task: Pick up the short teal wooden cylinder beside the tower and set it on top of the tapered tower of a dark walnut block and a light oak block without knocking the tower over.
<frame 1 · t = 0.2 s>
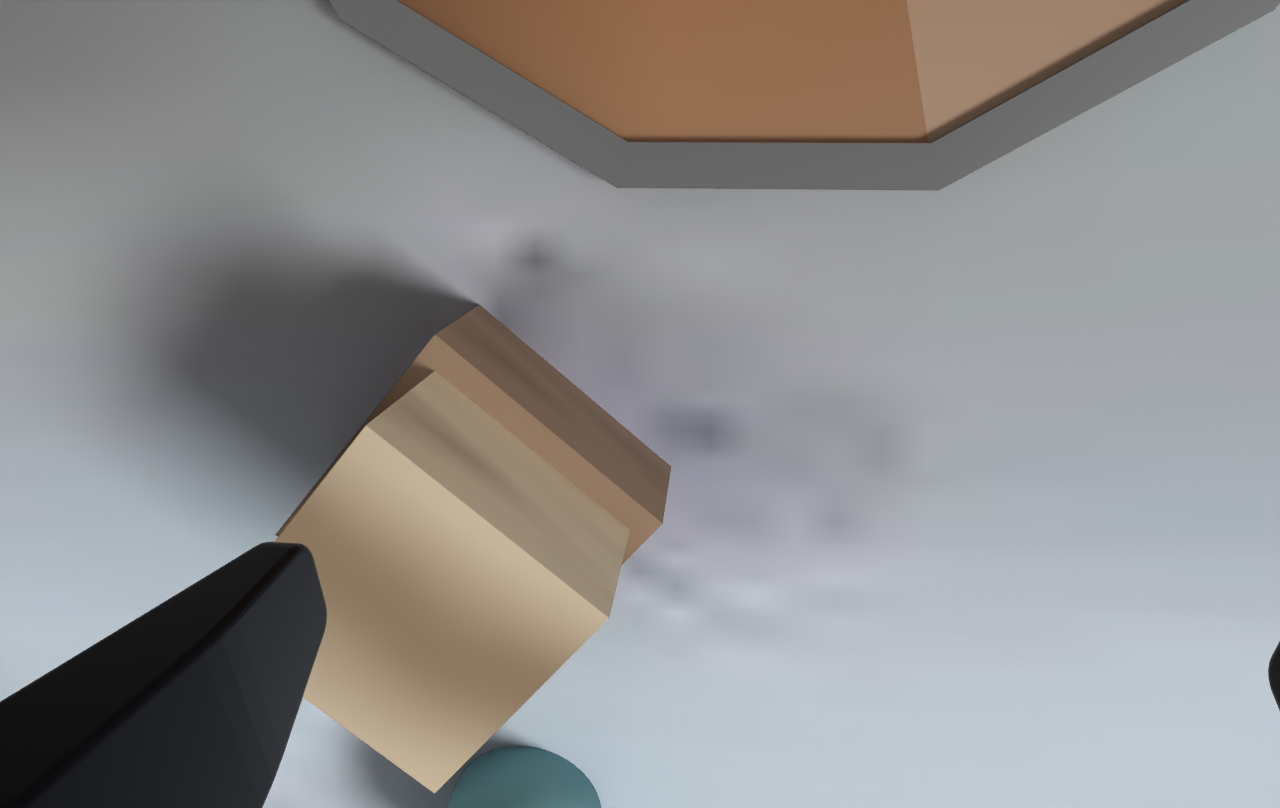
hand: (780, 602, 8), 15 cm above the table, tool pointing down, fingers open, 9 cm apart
teal cylinder: (527, 807, 28), on the table
walnut base block: (503, 469, 25), on the table, touching oak top block
oak top block: (460, 535, 21), point 4 cm above the table, touching walnut base block
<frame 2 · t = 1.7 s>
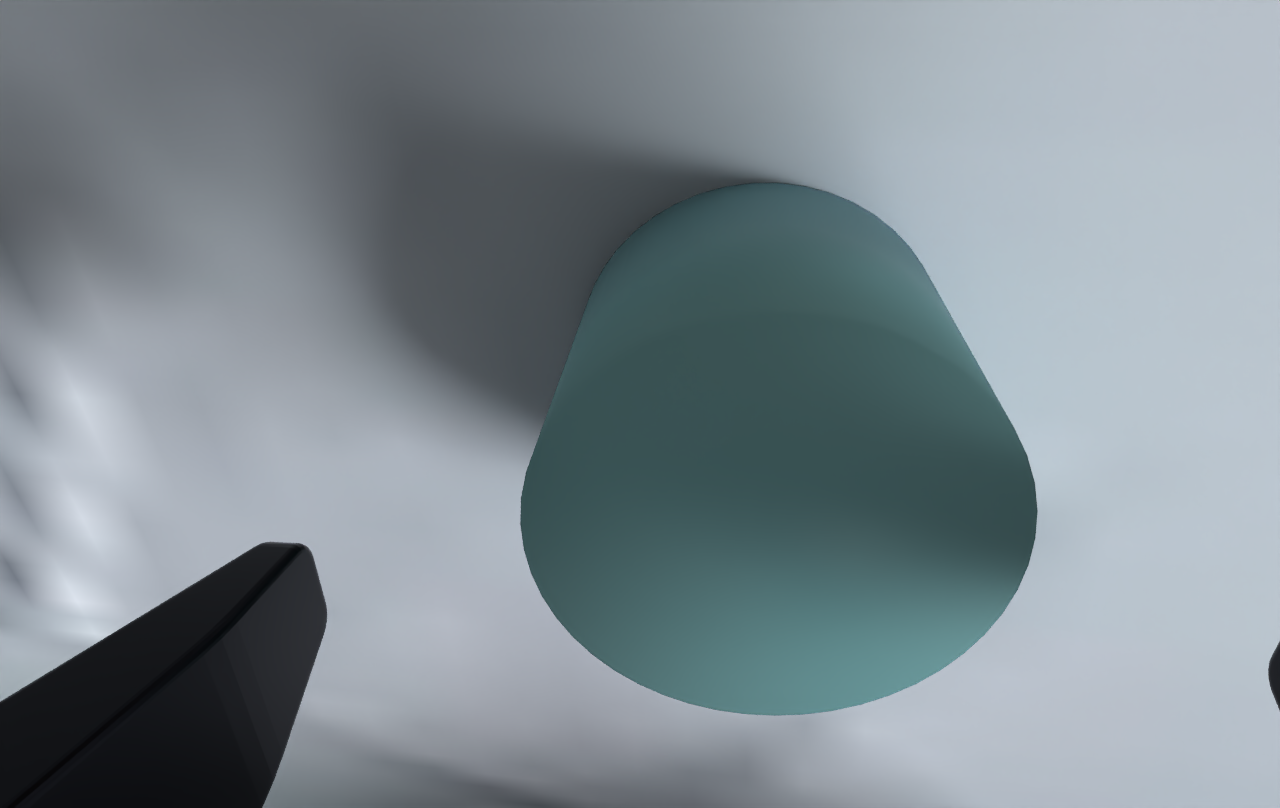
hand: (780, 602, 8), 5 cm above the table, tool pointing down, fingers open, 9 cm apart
teal cylinder: (757, 359, 12), on the table
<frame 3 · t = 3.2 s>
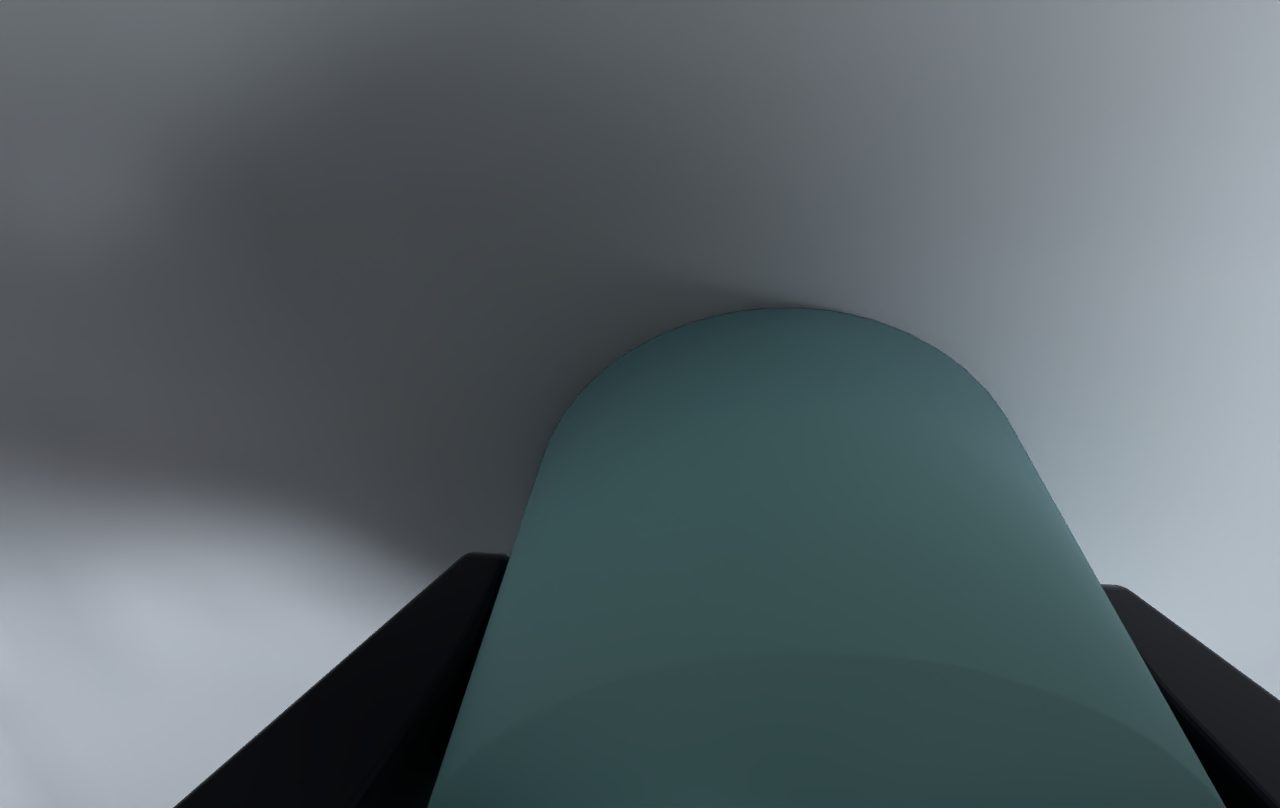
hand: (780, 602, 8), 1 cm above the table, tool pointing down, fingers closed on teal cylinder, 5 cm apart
teal cylinder: (774, 530, 9), on the table, touching gripper
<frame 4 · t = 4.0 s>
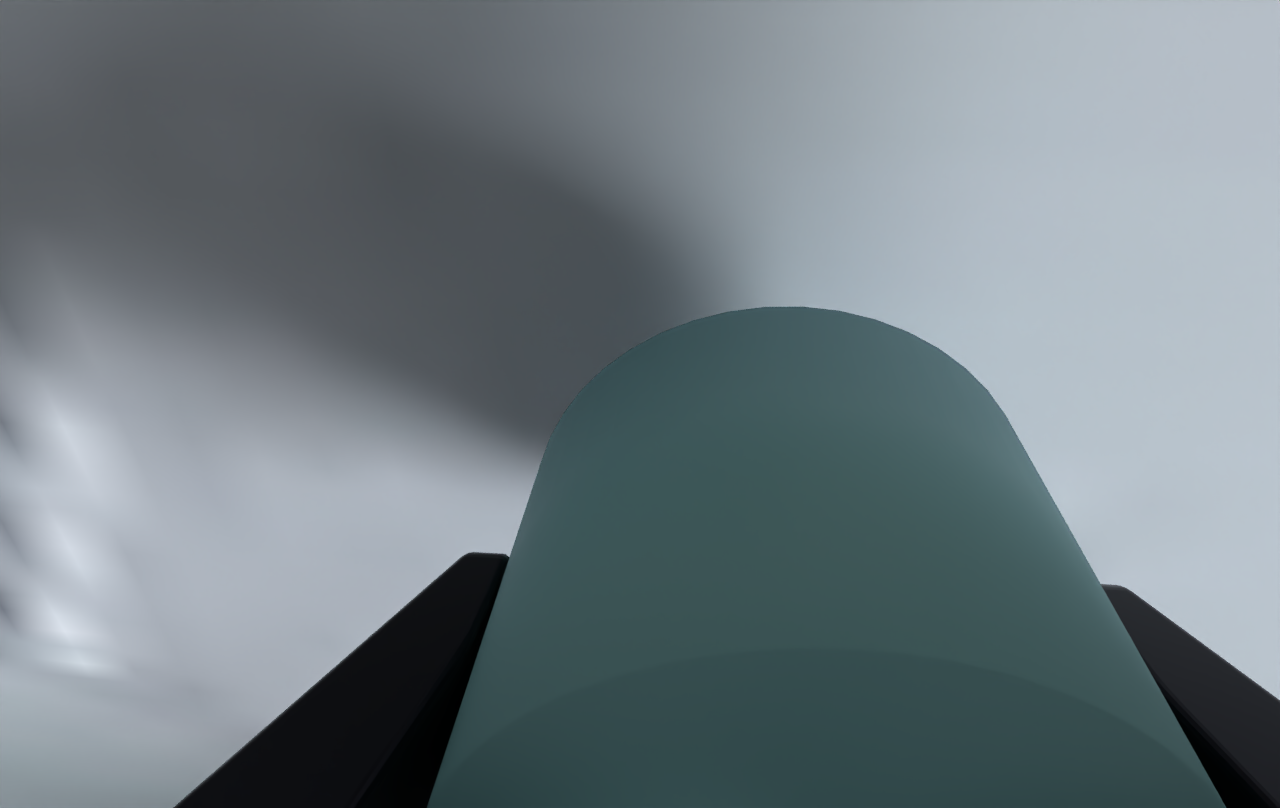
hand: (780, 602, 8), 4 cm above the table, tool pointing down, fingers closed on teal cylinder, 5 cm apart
teal cylinder: (773, 528, 9), point 3 cm above the table, touching gripper
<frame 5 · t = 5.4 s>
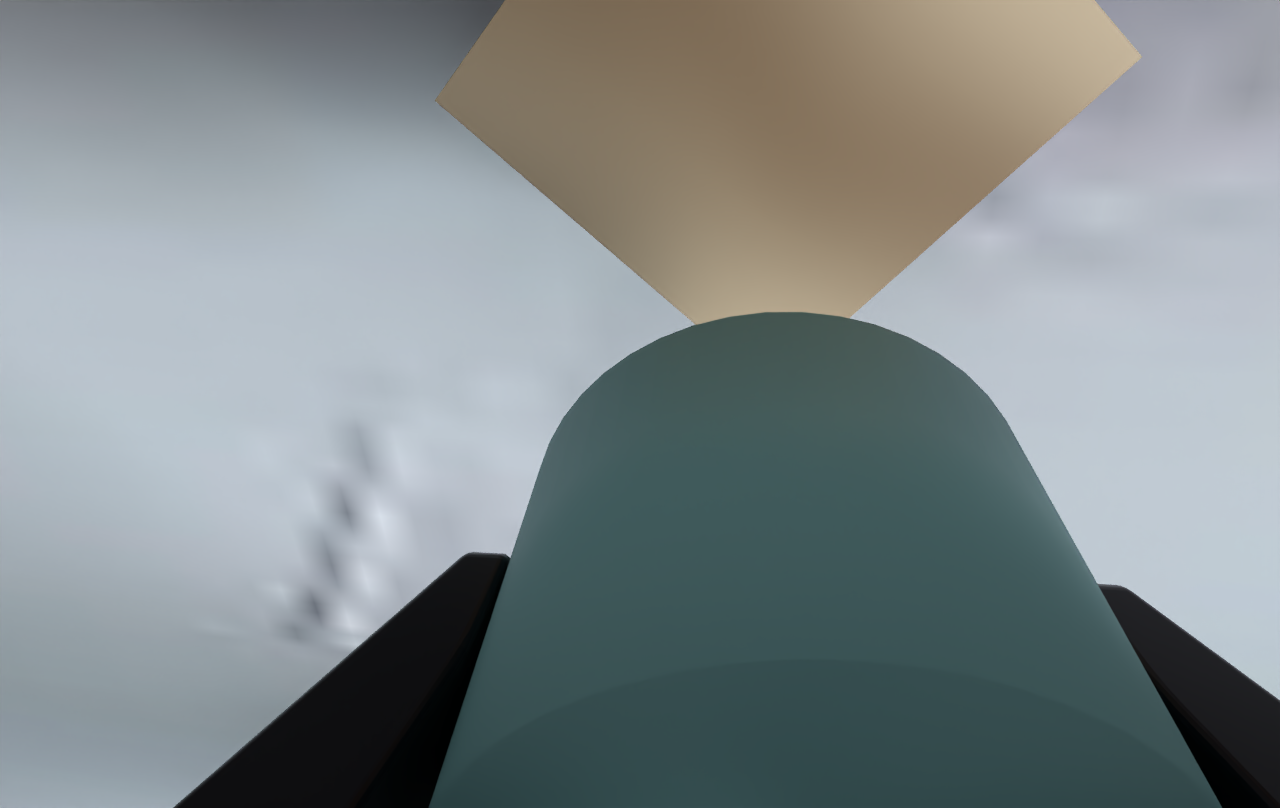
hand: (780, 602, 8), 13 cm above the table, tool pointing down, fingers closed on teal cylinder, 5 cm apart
teal cylinder: (773, 533, 9), point 12 cm above the table, touching gripper
oak top block: (760, 44, 14), point 4 cm above the table, touching walnut base block
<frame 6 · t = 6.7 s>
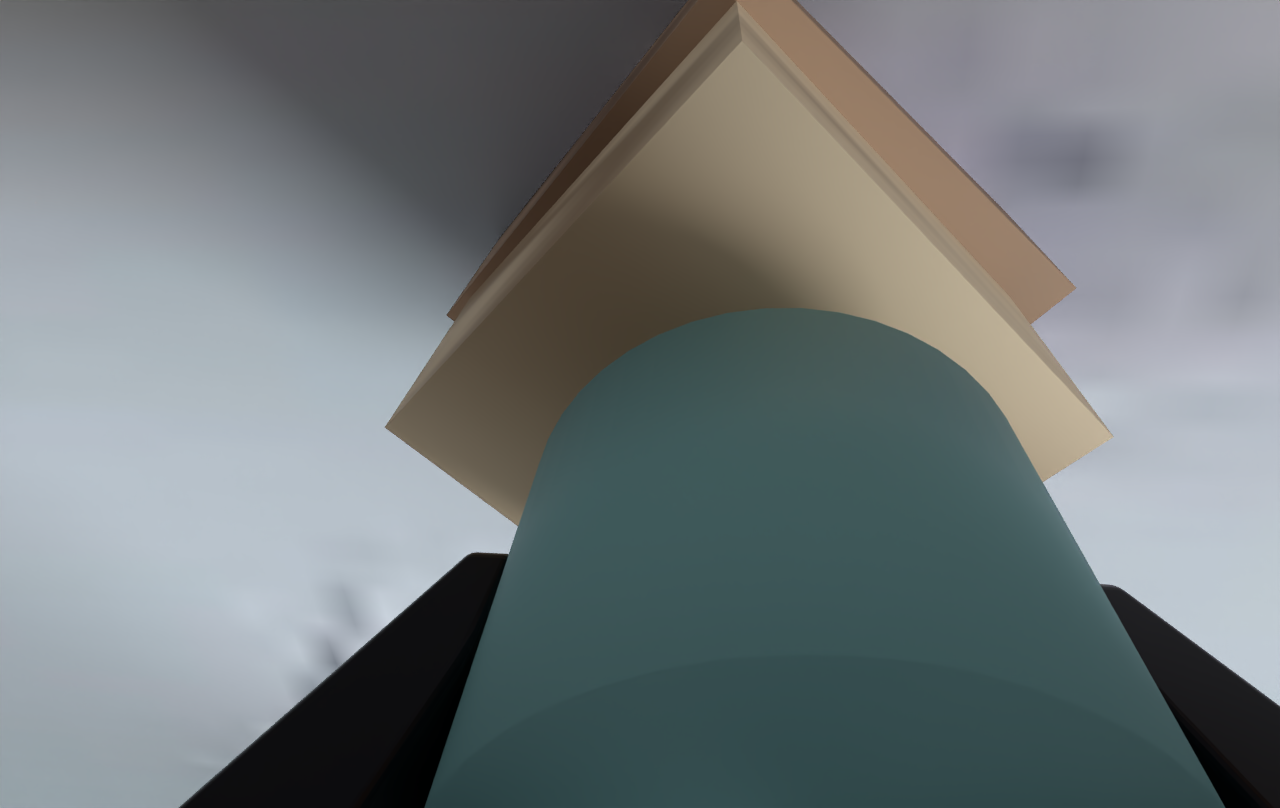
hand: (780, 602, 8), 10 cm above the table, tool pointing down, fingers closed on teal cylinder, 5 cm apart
teal cylinder: (772, 530, 9), point 9 cm above the table, touching gripper
walnut base block: (742, 221, 17), on the table, touching oak top block
oak top block: (731, 296, 13), point 4 cm above the table, touching walnut base block
when the fingers open (10 cm above the table, at t = 6.8 s): teal cylinder drops 1 cm, resting on oak top block.
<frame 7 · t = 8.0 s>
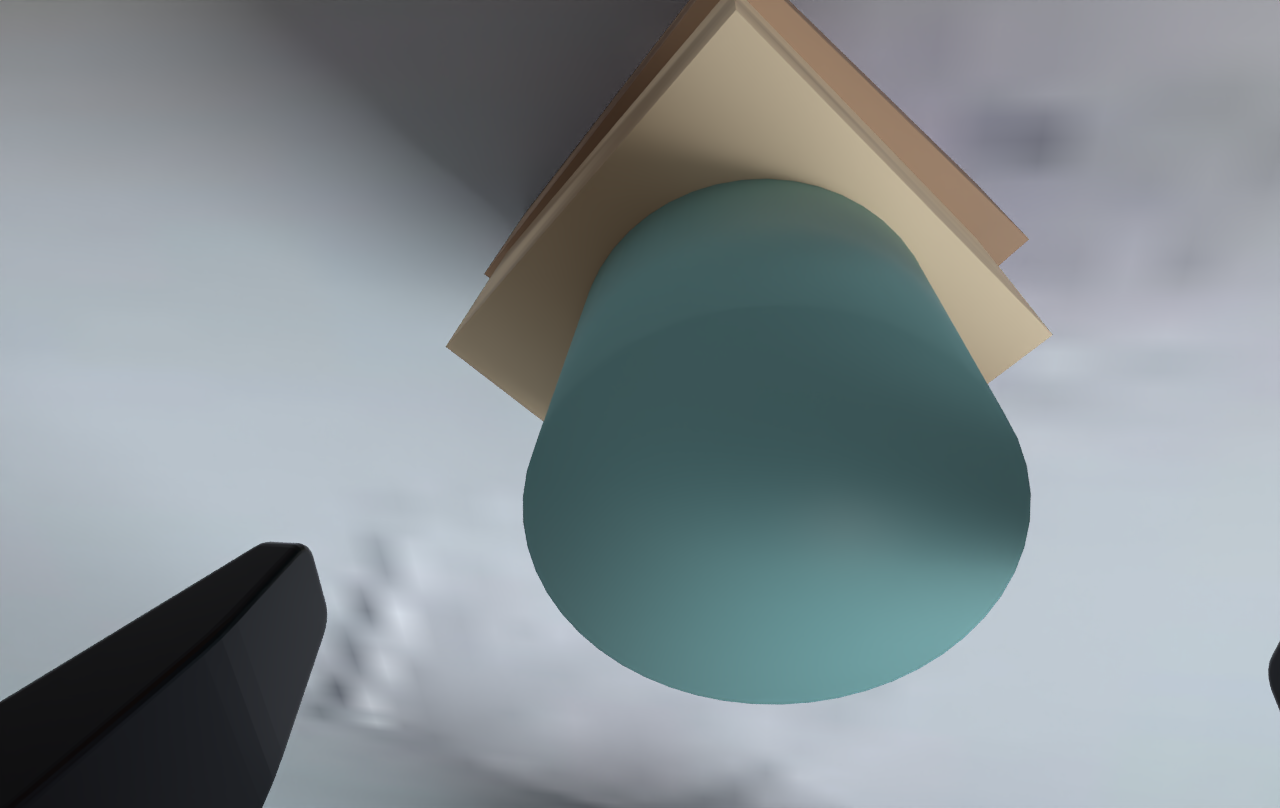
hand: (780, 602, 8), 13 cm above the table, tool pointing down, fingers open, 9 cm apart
teal cylinder: (754, 354, 12), point 8 cm above the table, touching oak top block
walnut base block: (741, 194, 19), on the table, touching oak top block
oak top block: (734, 245, 15), point 4 cm above the table, touching teal cylinder, walnut base block
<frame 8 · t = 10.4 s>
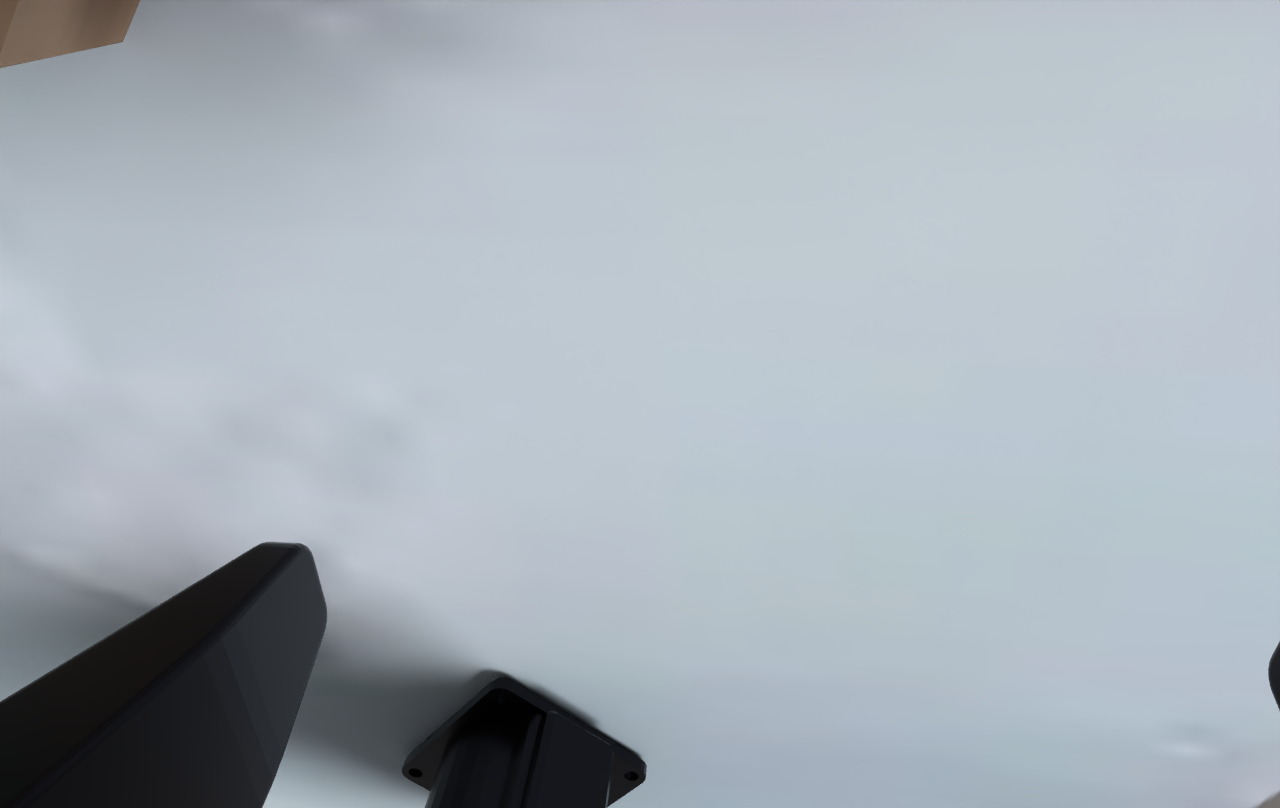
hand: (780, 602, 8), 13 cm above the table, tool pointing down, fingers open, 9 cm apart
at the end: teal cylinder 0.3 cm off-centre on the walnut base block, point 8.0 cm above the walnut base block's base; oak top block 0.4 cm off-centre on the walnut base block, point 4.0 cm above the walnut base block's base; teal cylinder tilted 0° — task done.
